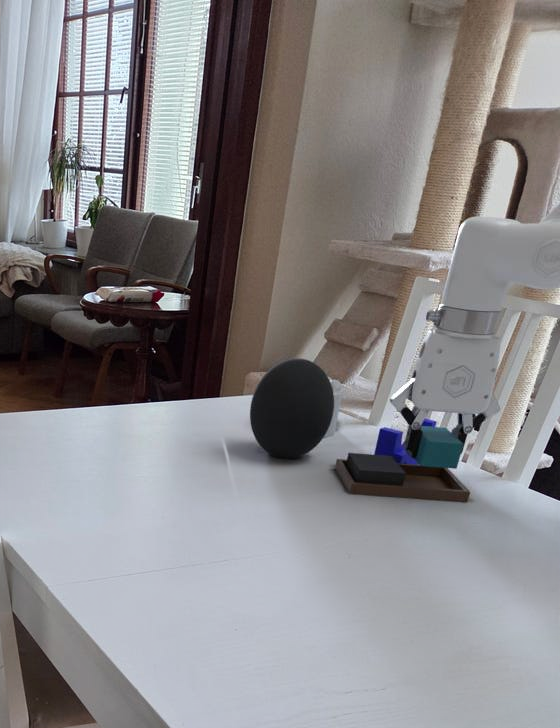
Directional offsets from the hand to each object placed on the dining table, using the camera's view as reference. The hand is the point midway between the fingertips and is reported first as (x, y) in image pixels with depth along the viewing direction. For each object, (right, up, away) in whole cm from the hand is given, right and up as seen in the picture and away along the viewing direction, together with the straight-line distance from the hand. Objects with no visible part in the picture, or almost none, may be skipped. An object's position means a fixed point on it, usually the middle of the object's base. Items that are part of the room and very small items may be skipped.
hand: (431, 455), depth 121 cm
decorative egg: (-18, +2, +13) cm, 22 cm away
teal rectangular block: (0, 0, 0) cm, 0 cm away
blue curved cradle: (+1, +1, +13) cm, 13 cm away
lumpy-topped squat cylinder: (-11, +11, +28) cm, 32 cm away
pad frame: (-4, -4, +3) cm, 6 cm away
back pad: (-8, -3, +3) cm, 9 cm away
